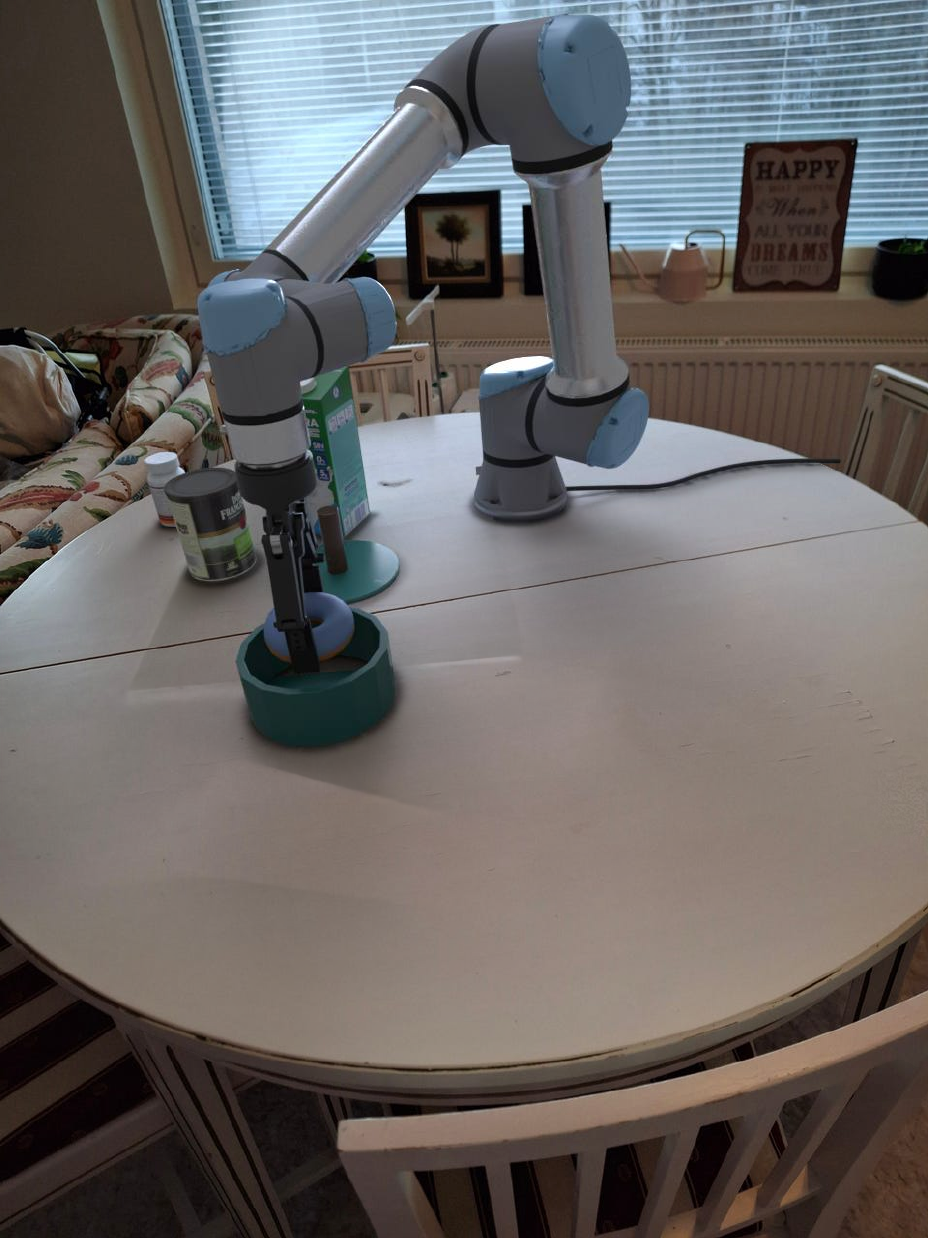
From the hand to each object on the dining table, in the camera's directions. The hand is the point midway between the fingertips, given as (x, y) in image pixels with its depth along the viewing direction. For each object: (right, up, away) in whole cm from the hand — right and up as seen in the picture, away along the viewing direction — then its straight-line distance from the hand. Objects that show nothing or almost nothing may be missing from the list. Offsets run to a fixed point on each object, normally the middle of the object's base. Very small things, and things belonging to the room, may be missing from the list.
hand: (312, 642), depth 90 cm
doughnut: (0, 0, 0) cm, 0 cm away
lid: (-1, +9, +27) cm, 29 cm away
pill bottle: (-32, +19, +47) cm, 60 cm away
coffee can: (-20, +10, +33) cm, 39 cm away
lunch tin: (+1, -7, +4) cm, 8 cm away
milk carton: (-4, +18, +42) cm, 46 cm away
